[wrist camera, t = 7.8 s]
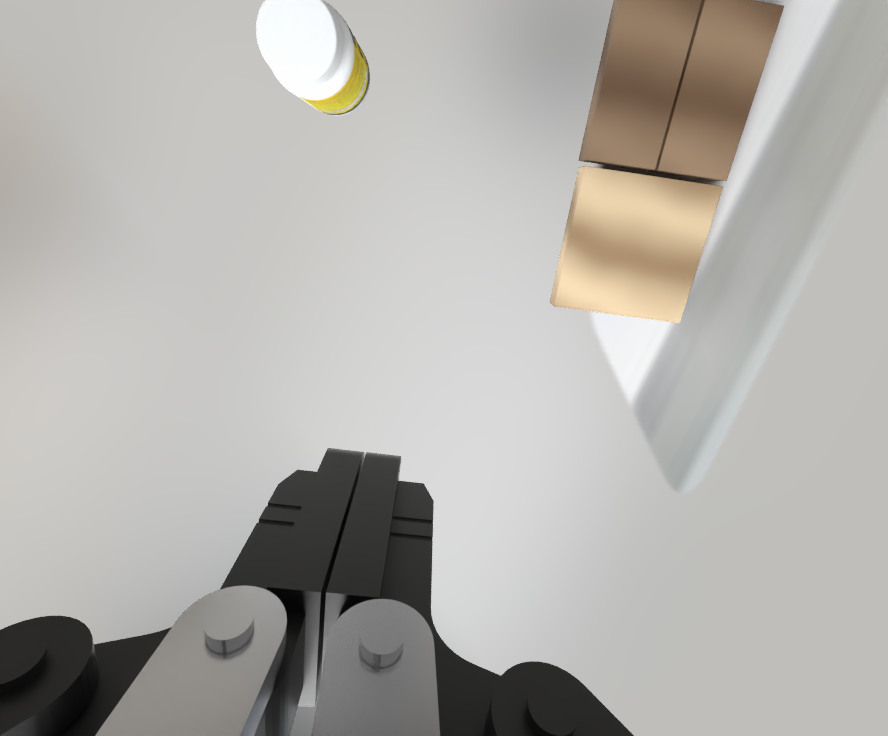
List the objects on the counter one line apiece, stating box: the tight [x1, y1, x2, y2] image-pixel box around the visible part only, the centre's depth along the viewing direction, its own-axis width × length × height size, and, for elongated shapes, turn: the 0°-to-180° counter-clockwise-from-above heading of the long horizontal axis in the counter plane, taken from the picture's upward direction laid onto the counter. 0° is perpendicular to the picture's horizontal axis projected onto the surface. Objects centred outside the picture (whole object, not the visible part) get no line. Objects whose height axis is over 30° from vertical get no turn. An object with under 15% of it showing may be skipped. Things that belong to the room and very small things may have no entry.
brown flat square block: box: [579, 0, 784, 181], centre depth 30 cm, size 10×10×2 cm
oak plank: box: [550, 166, 723, 323], centre depth 33 cm, size 10×10×2 cm
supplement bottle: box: [256, 0, 370, 116], centre depth 26 cm, size 5×5×8 cm
